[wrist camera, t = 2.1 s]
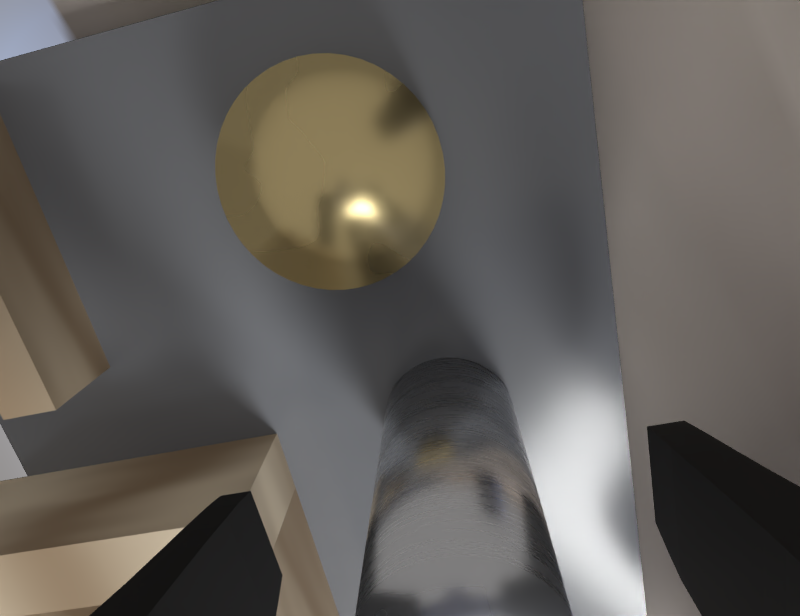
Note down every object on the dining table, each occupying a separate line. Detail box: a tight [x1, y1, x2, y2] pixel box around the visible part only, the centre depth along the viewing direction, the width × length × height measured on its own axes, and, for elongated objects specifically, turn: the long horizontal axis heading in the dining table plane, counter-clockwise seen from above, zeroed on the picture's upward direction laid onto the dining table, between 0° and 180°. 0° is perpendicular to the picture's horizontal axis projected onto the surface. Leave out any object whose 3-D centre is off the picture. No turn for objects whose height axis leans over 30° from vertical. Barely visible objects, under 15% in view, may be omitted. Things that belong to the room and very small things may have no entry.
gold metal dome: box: [215, 53, 445, 290], centre depth 10 cm, size 4×4×2 cm
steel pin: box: [355, 358, 573, 616], centre depth 10 cm, size 3×3×6 cm
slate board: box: [0, 0, 647, 616], centre depth 13 cm, size 15×17×1 cm
